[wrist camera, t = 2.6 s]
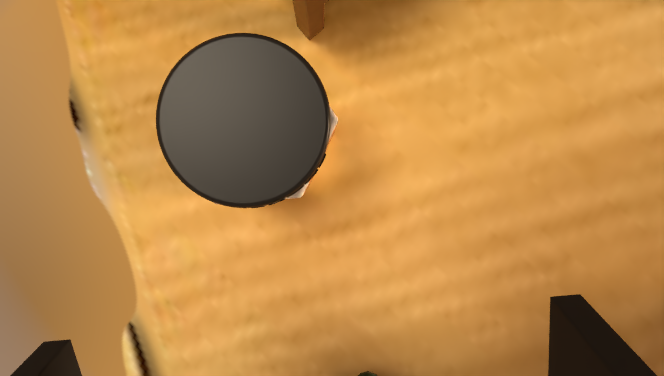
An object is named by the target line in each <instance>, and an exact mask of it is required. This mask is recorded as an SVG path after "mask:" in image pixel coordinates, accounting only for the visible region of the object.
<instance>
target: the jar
mask: <svg viewBox="0 0 664 376" xmlns="http://www.w3.org/2000/svg"><path fill="white" fill-rule="evenodd" d="M337 123H338V118H337V116H336V114H335V113H334V112H333V110H332V109H331V107H330V106H329V102H328V98H327V94H326V92H325V89H324V87H323V84H322V82H321V80H320V78H319V77H318V75H317V73H316V72H315V70H314V69H313V68H312V66H311V65H310V64H309V63H308V62H307V61H306V60H305V59H304V58H303V57H302V56H301V55H300V54H299V53H298V52H296V51H295V50H294V49H292V48H291V47H289V46H287V45H286V44H284V43H282V42H280V41H278V40H275V39H273V38H270V37H267V36H263V35H258V34H251V33H234V34H226V35H222V36H218V37H215V38H212V39H210V40H207V41H205V42H203V43H201V44H199V45H198V46H196V47H194V48H193V49H192V50H190V51H189V52H188V53H187V54H185V55H184V56H183V57H182V58H181V59H180V60H179V61H178V62H177V63H176V65H175V66H174V67H173V69H172V70H171V71H170V73H169V75H168V76H167V78H166V80H165V82H164V84H163V87H162V89H161V92H160V95H159V99H158V104H157V110H156V129H157V136H158V140H159V144H160V147H161V150H162V153H163V155H164V157H165V159H166V161H167V163H168V164H169V166H170V168H171V169H172V171H173V172H174V173H175V175H176V176H177V177H178V178H179V179H180V180H181V181H182V182H183V183H184V184H185V185H186V186H187V187H188V188H189V189H191V190H192V191H193V192H195V193H196V194H198V195H200V196H201V197H203V198H205V199H207V200H209V201H212V202H214V203H215V204H220V205H224V206H229V207H237V208H258V207H264V206H266V205H268V204H269V205H272V204H275V203H277V202H279V201H282V200H284V199H293V198H300V197H302V196H303V194H304V193H305V192H306V190H307V189H308V187H309V185H310V183H311V181H312V179H313V176H314V175H315V174H316V172H317V171H318V169H317V168H318V167H319V168H320V166H321V164H322V163H323V161H324V158H325V156H326V154H325V152H326V149H327V147H328V145H329V143H330V141H331V139H332V137H333V134H334V131H335V128H336V126H337Z"/></svg>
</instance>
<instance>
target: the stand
mask: <svg viewBox="0 0 664 376" xmlns="http://www.w3.org/2000/svg"><path fill="white" fill-rule="evenodd" d="M327 1H328V0H293V4H294V10H295V16H296V22H297V26H298V27H299V29H300V30H301V31H302V32H303V33H304V35H305V36H306V37H307V38H308V39H309V40H310V39H312V38H313V37H314V36H315V35H316V34H317V33H319V32H320V31H321V30H322V29H323V28H324V4H325V3H326V2H327Z"/></svg>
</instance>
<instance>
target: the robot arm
mask: <svg viewBox="0 0 664 376" xmlns="http://www.w3.org/2000/svg"><path fill="white" fill-rule="evenodd" d="M11 376H82V375H81V371H80V368H79V365H78V362H77V359H76V356H75V353H74V350H73V346H72V343H71V340H61V341H49V342H43V343H42V344H41V345H40V346H39V347H38V348H37V349H36V350H35V351H34V352H33V353H32V355H30V357H28V358H27V359H26V360H25V361H24V362H23V364H22V365H20V366H19V368H17V370H16V371H15V372H14V373H13V374H12V375H11ZM548 376H657V375H656V374H655V373H654V372H653V371H652V370H651V369H650V368H649V367H648V366H647V365H646V364H645V363H644V361H643V360H642V359H641V358H640V357H639V356H638V355H637V354H636V353H635V352H634V351H633V350H632V349H631V348H630V347H629V346H628V345H627V343H626V342H625V341H624V340H623V339H622V338H621V337H620V336H619V335H618V334H617V333H616V332H615V331H614V330H613V329H612V328H611V327H610V326H609V324H608V323H607V322H606V321H605V320H604V319H603V318H602V317H601V316H600V315H599V314H598V313H597V312H596V311H595V310H594V309H593V308H592V306H591V305H590V304H589V303H588V302H587V301H586V300H585V299H584V298H583V297H582V296H581V295H580V294H579V295H567V296H556V297H550V333H549V371H548Z"/></svg>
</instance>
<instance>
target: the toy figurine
mask: <svg viewBox="0 0 664 376" xmlns="http://www.w3.org/2000/svg"><path fill="white" fill-rule="evenodd" d="M358 376H377V375H376V374H374V373H371V372H369V371H366V372H363V373H360V374H359V375H358Z"/></svg>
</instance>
